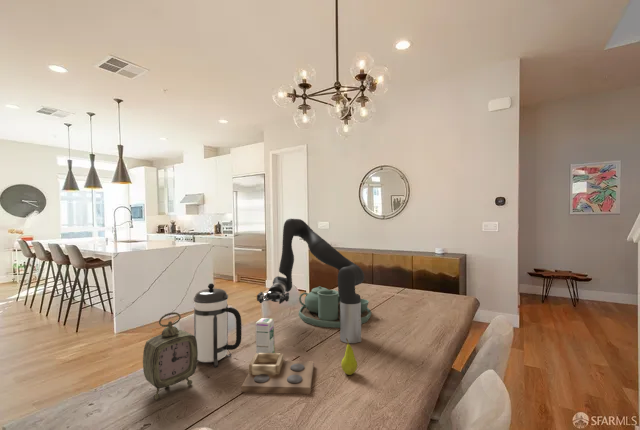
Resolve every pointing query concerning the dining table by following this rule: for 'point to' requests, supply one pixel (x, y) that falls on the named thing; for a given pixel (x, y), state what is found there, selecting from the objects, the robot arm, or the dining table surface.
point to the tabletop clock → (170, 356)
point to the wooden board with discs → (278, 375)
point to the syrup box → (265, 335)
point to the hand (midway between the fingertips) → (270, 301)
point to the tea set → (326, 308)
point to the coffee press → (213, 325)
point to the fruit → (349, 361)
